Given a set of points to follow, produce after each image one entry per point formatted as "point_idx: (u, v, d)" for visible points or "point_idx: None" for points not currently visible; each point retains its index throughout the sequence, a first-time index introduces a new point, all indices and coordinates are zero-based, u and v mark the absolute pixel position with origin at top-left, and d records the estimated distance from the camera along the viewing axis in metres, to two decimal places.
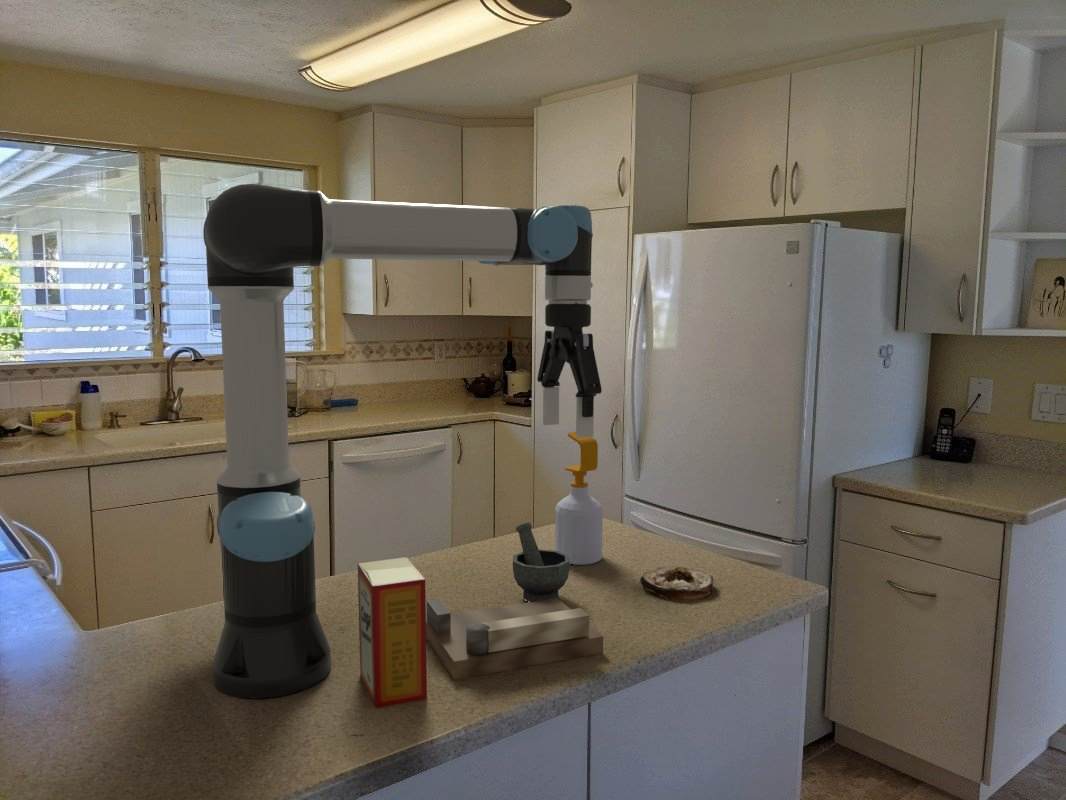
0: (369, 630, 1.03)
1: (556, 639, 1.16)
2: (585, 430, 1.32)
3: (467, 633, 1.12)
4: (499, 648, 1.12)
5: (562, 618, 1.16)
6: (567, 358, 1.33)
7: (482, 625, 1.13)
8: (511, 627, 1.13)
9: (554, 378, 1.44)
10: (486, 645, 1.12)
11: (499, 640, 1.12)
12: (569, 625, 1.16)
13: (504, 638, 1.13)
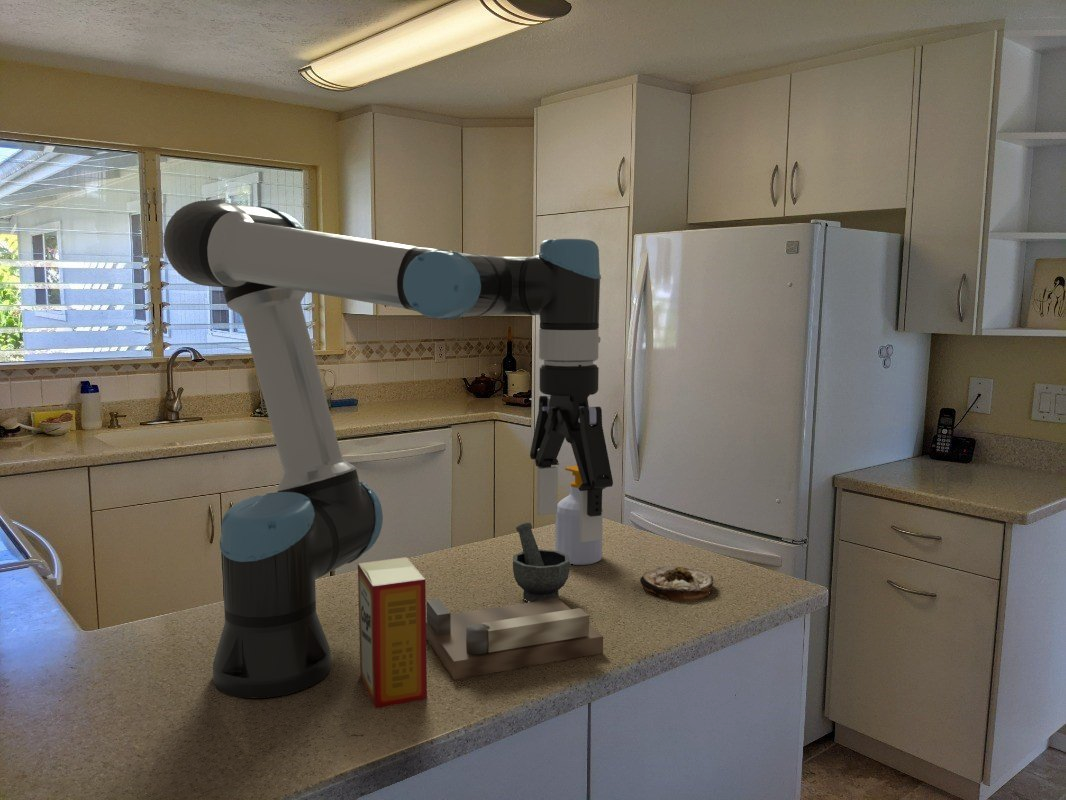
0: (369, 630, 1.03)
1: (556, 639, 1.16)
2: (591, 532, 1.02)
3: (467, 633, 1.12)
4: (499, 648, 1.12)
5: (562, 618, 1.16)
6: (568, 437, 1.03)
7: (482, 625, 1.13)
8: (511, 627, 1.13)
9: (551, 456, 1.13)
10: (486, 645, 1.12)
11: (499, 640, 1.12)
12: (569, 625, 1.16)
13: (504, 638, 1.13)
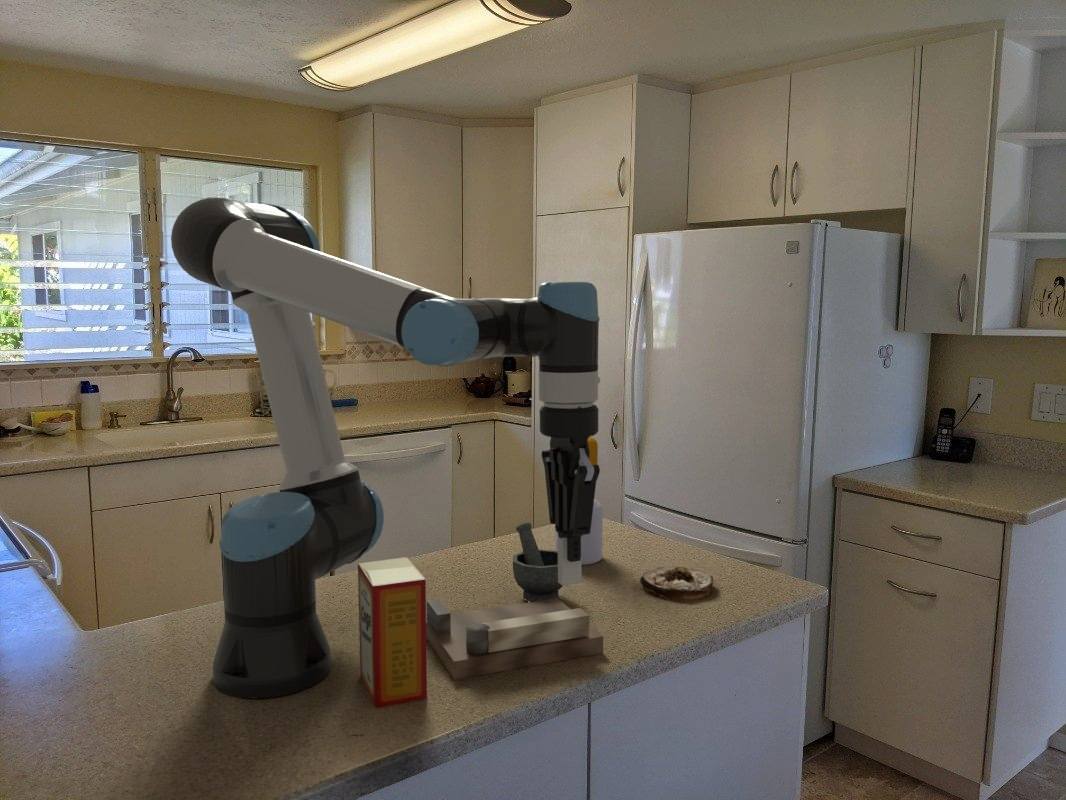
0: (369, 630, 1.03)
1: (556, 639, 1.16)
2: (571, 576, 1.08)
3: (467, 633, 1.12)
4: (499, 648, 1.12)
5: (562, 618, 1.16)
6: (562, 483, 1.05)
7: (482, 625, 1.13)
8: (511, 627, 1.13)
9: None
10: (486, 645, 1.12)
11: (499, 640, 1.12)
12: (569, 625, 1.16)
13: (504, 638, 1.13)
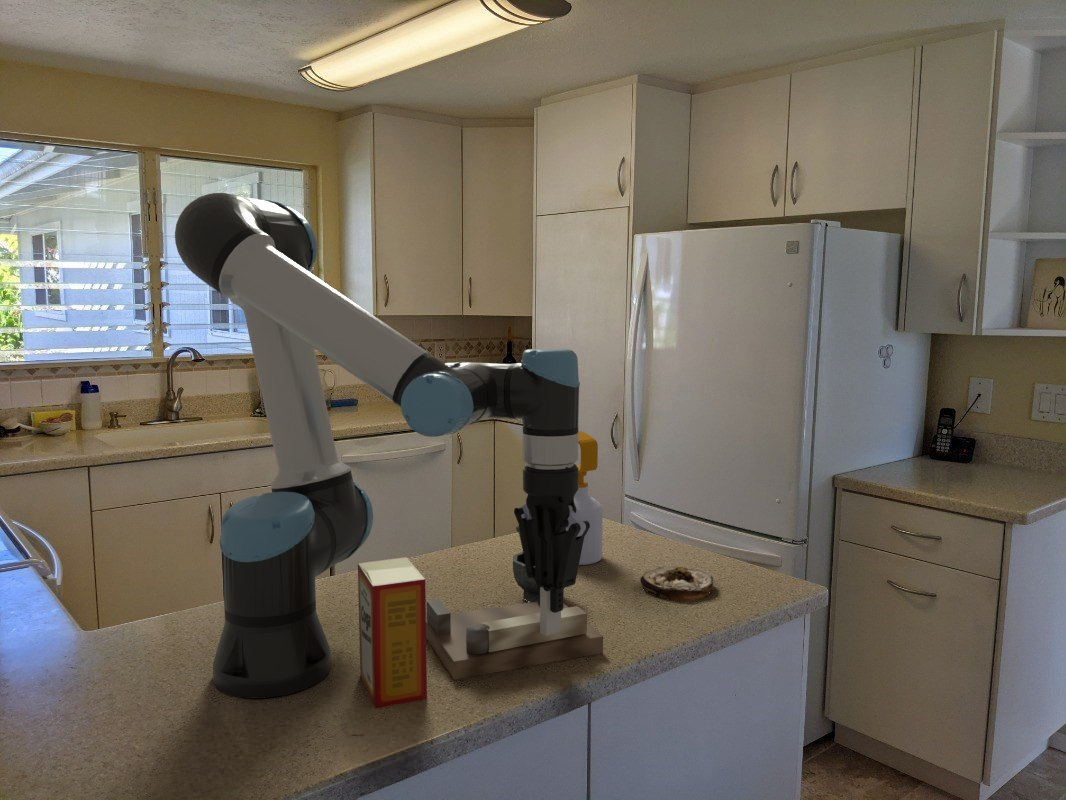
0: (369, 630, 1.03)
1: (555, 637, 1.16)
2: (553, 625, 1.14)
3: (467, 633, 1.12)
4: (499, 648, 1.13)
5: None
6: (548, 539, 1.11)
7: (482, 625, 1.13)
8: (510, 626, 1.13)
9: None
10: (486, 645, 1.12)
11: (499, 640, 1.12)
12: (567, 623, 1.17)
13: (504, 637, 1.13)
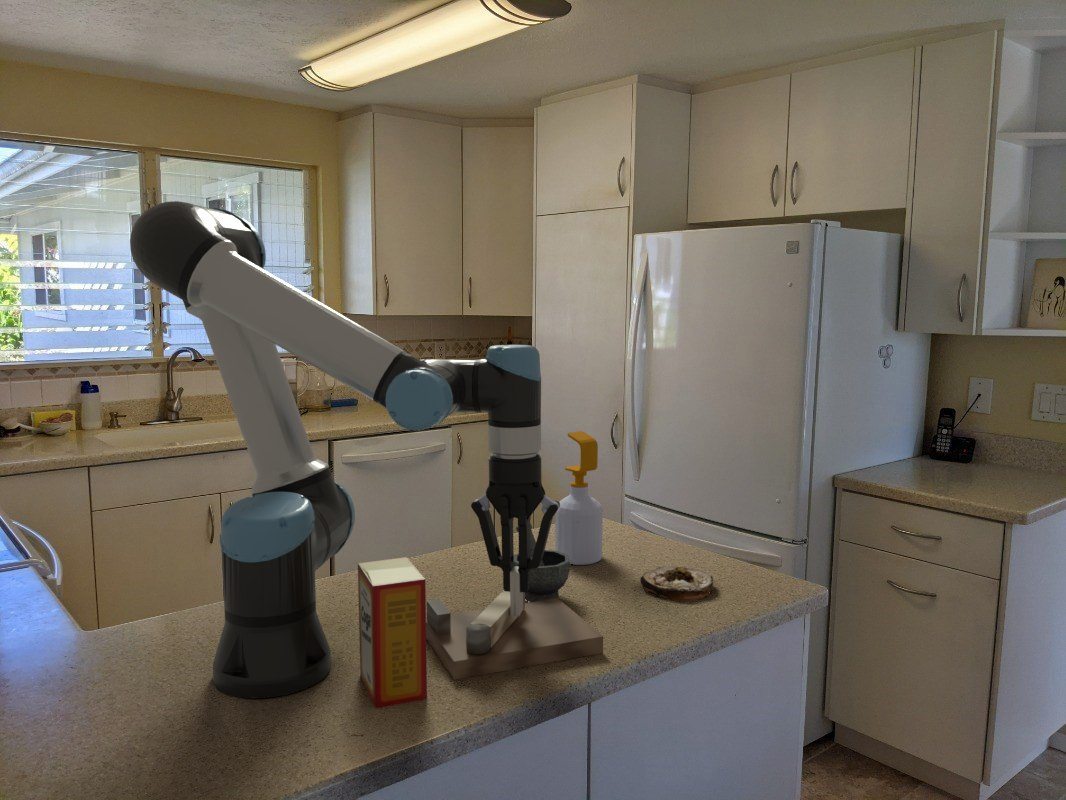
0: (369, 630, 1.03)
1: (514, 619, 1.23)
2: (521, 605, 1.21)
3: (475, 635, 1.11)
4: (494, 641, 1.15)
5: None
6: (523, 524, 1.18)
7: (475, 625, 1.14)
8: (498, 617, 1.16)
9: (512, 552, 1.21)
10: (490, 641, 1.13)
11: (494, 633, 1.15)
12: None
13: (496, 630, 1.15)
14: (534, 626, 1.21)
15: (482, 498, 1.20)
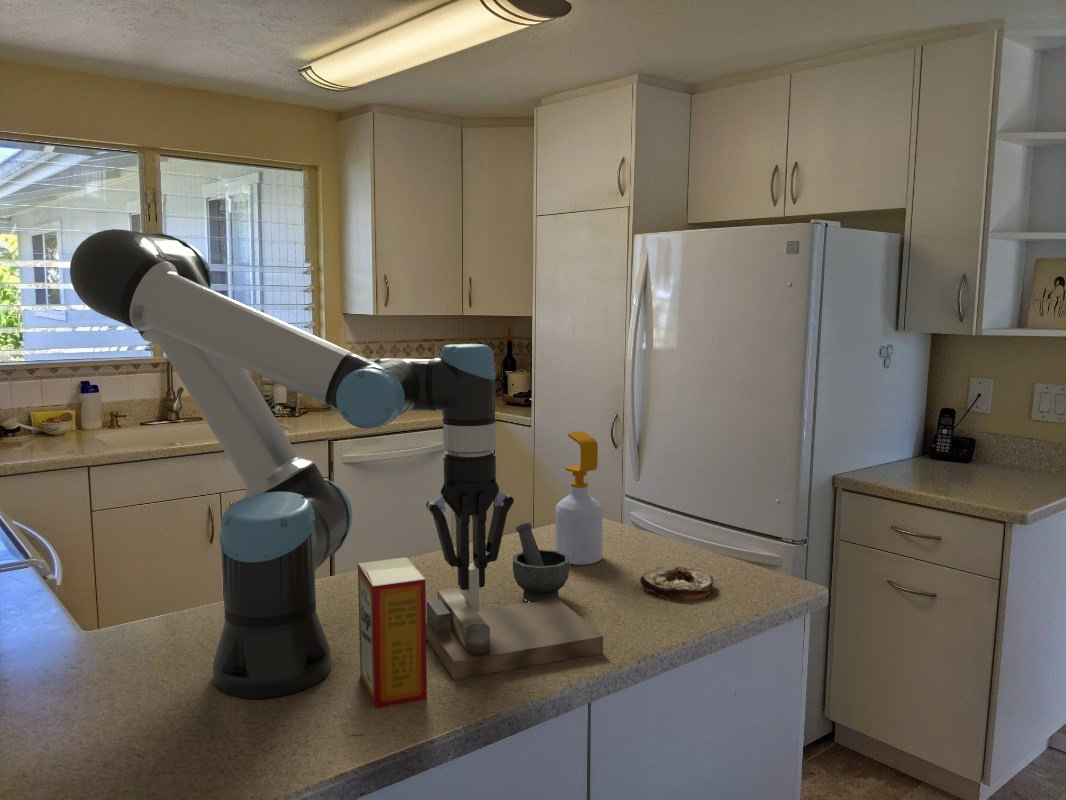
0: (369, 630, 1.03)
1: None
2: None
3: (483, 635, 1.11)
4: None
5: (462, 597, 1.24)
6: (483, 520, 1.20)
7: (471, 626, 1.13)
8: (478, 615, 1.17)
9: None
10: None
11: None
12: None
13: None
14: (534, 626, 1.21)
15: (439, 500, 1.18)
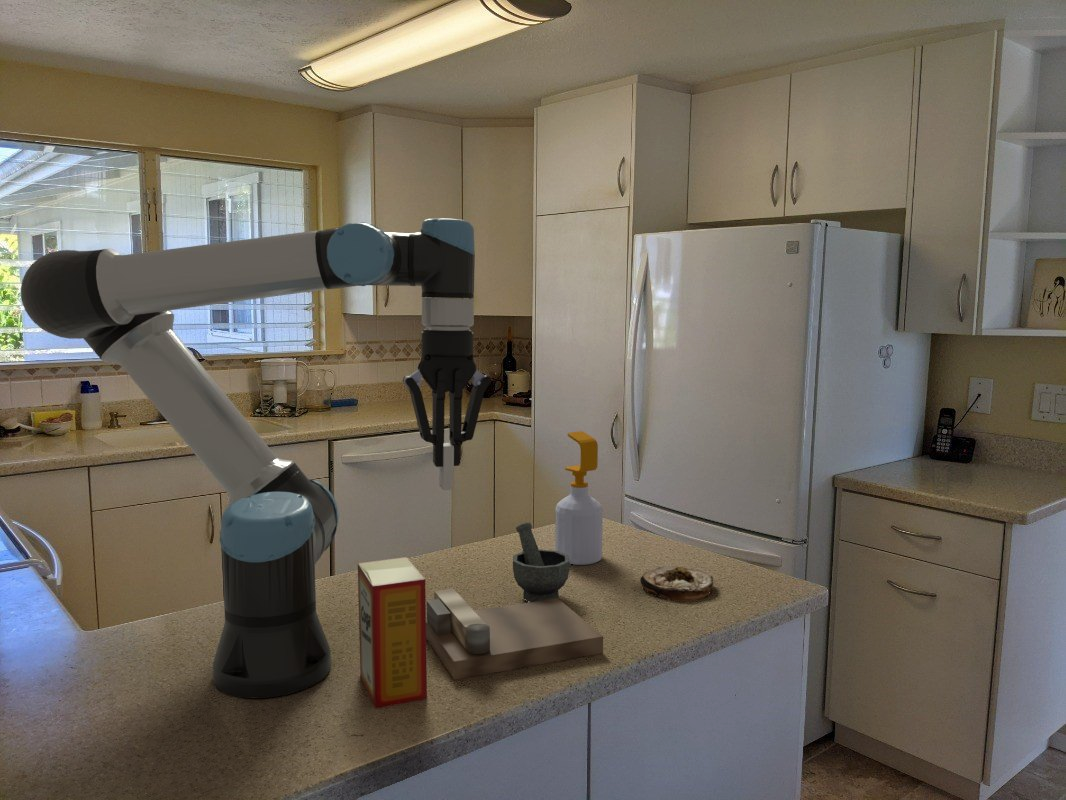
0: (369, 630, 1.03)
1: None
2: None
3: (483, 635, 1.11)
4: None
5: (459, 597, 1.24)
6: (459, 396, 1.20)
7: (471, 626, 1.13)
8: (477, 615, 1.17)
9: None
10: None
11: None
12: None
13: None
14: (534, 626, 1.21)
15: (415, 374, 1.19)
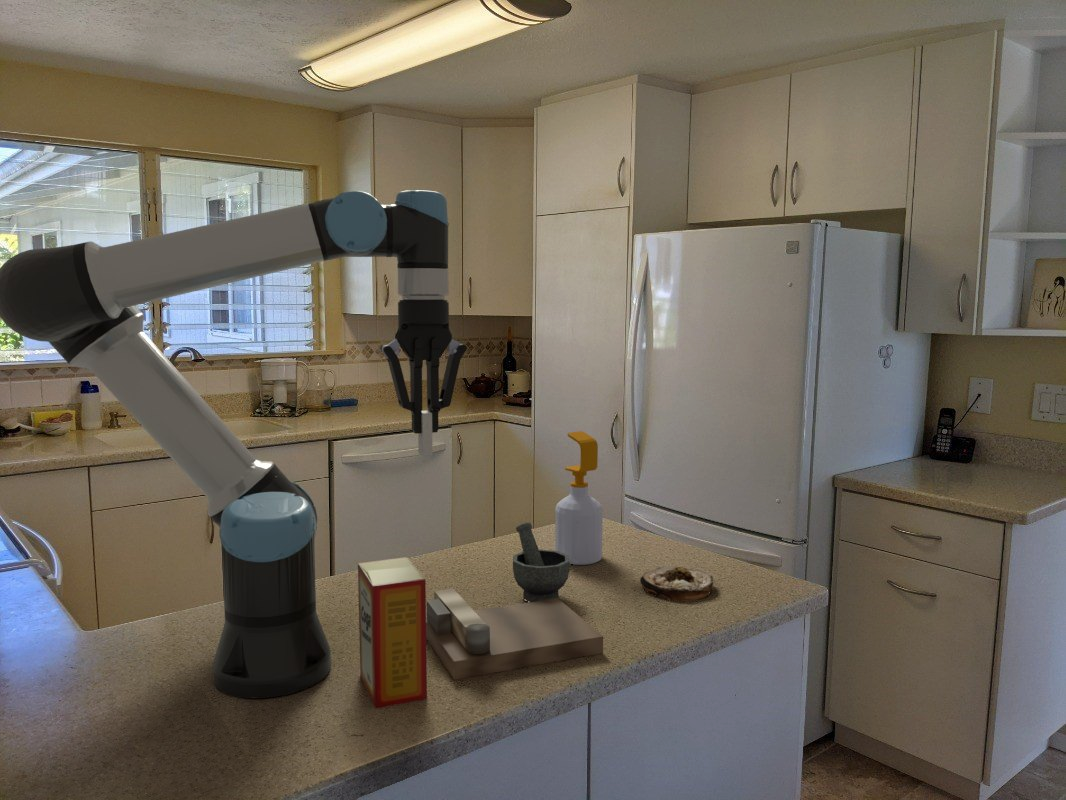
0: (369, 630, 1.03)
1: None
2: None
3: (483, 635, 1.11)
4: None
5: (459, 597, 1.24)
6: (436, 364, 1.24)
7: (471, 626, 1.13)
8: (477, 615, 1.17)
9: None
10: None
11: None
12: None
13: None
14: (534, 626, 1.21)
15: (393, 343, 1.22)
